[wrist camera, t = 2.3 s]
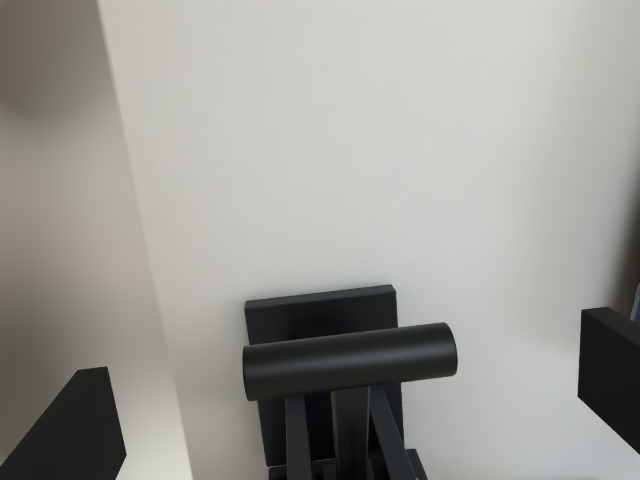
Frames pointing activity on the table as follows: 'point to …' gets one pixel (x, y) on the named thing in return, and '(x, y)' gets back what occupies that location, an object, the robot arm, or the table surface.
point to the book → (636, 307)
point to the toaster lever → (349, 378)
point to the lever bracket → (316, 409)
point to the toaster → (280, 473)
